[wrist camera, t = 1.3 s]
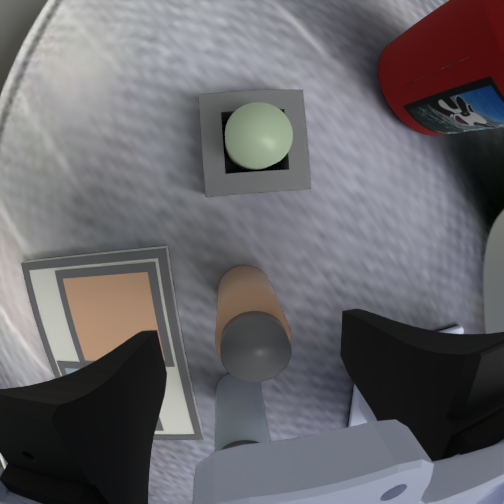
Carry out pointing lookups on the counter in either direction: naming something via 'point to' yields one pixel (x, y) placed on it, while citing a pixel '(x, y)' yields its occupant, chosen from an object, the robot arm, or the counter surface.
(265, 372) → the terracotta marker
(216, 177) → the button housing
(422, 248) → the counter surface
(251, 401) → the cylinder
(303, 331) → the counter surface
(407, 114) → the beverage can
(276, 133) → the button
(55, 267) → the picture card
